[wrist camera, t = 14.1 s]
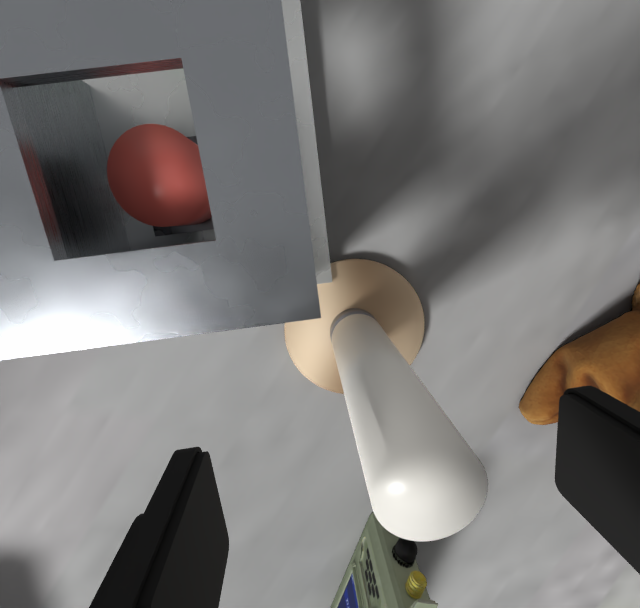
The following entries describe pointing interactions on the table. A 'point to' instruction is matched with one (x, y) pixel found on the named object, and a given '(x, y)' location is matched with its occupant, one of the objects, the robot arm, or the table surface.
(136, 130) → the plunger
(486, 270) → the table surface
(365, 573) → the handheld radio
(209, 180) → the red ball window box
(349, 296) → the cork coaster
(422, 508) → the white rounded rod
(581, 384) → the brown rounded furry figure
